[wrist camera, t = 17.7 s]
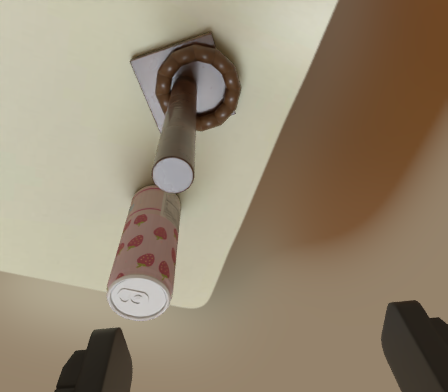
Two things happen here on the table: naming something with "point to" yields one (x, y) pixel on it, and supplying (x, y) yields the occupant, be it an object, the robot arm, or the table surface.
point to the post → (179, 110)
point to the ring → (204, 56)
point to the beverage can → (146, 256)
